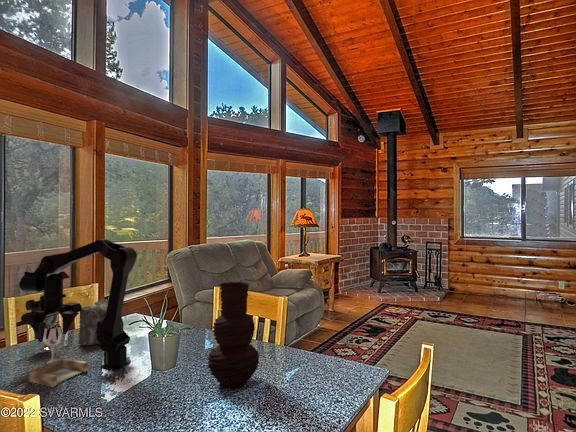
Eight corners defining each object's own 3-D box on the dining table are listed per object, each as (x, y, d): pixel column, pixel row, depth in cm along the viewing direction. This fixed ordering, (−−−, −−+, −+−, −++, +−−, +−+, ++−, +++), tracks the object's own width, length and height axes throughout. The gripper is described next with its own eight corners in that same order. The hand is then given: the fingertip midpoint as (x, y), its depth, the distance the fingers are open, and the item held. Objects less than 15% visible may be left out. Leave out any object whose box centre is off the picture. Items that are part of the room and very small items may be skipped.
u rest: (87, 371, 124) (87, 362, 124) (52, 387, 112) (53, 377, 112) (63, 367, 127) (63, 357, 127) (27, 382, 116) (27, 372, 116)
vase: (268, 380, 119) (269, 282, 119) (237, 400, 106) (238, 290, 106) (229, 369, 127) (230, 278, 127) (196, 387, 114) (197, 285, 114)
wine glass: (49, 352, 140) (49, 311, 140) (27, 352, 140) (28, 311, 141) (62, 345, 148) (63, 306, 148) (42, 345, 148) (42, 306, 148)
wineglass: (66, 359, 134) (66, 325, 134) (54, 366, 128) (54, 329, 128) (50, 358, 135) (50, 324, 135) (38, 365, 129) (38, 329, 129)
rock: (107, 294, 168) (125, 291, 165) (115, 330, 169) (134, 328, 166) (67, 310, 148) (87, 307, 145) (77, 352, 149) (98, 350, 146)
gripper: (59, 285, 143) (59, 328, 143) (8, 295, 125) (8, 343, 125) (83, 287, 139) (82, 331, 139) (34, 298, 122) (33, 347, 122)
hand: (52, 337), depth 131 cm, fingers open, 9 cm apart
